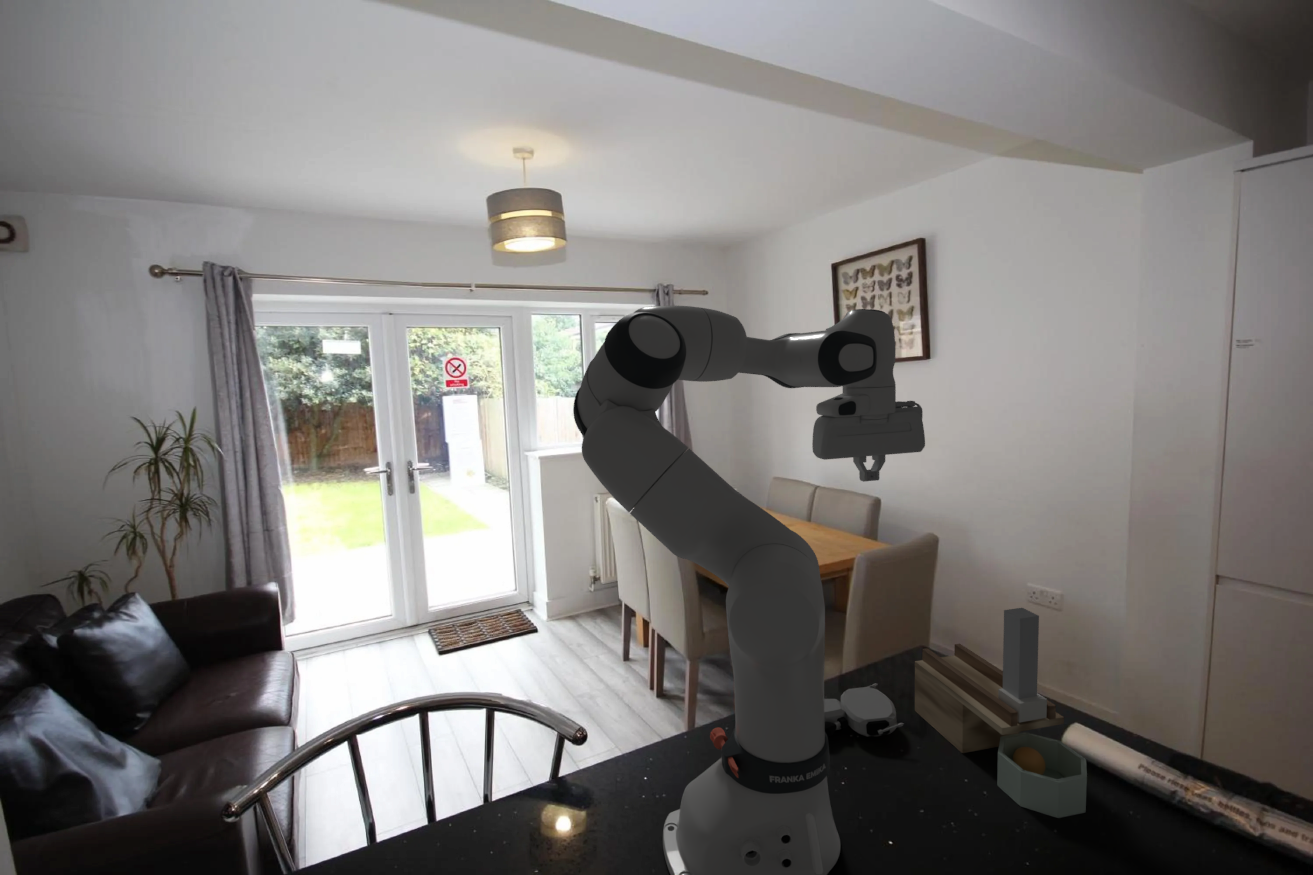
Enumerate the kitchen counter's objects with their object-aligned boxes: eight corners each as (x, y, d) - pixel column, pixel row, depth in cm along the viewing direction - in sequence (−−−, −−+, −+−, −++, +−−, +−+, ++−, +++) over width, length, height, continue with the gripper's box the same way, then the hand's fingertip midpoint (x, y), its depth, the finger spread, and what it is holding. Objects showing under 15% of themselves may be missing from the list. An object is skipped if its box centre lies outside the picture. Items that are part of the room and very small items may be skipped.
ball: (1030, 785, 84) (1024, 754, 84) (1008, 774, 88) (1003, 744, 88) (1055, 780, 84) (1049, 749, 85) (1032, 769, 88) (1027, 740, 89)
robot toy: (813, 755, 96) (909, 746, 95) (810, 729, 95) (906, 719, 94) (797, 711, 108) (881, 703, 107) (794, 687, 107) (879, 679, 107)
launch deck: (1001, 788, 85) (1002, 714, 84) (914, 710, 105) (914, 650, 103) (1062, 775, 87) (1064, 703, 86) (966, 702, 106) (966, 642, 105)
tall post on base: (1019, 722, 85) (1021, 621, 83) (998, 707, 89) (999, 610, 87) (1046, 717, 85) (1049, 617, 84) (1024, 702, 89) (1026, 606, 88)
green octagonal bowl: (1038, 822, 79) (1039, 786, 78) (982, 771, 89) (982, 739, 88) (1104, 808, 80) (1106, 773, 80) (1042, 760, 90) (1043, 728, 90)
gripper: (911, 399, 112) (911, 473, 113) (807, 405, 108) (809, 481, 110) (933, 400, 106) (932, 478, 107) (824, 407, 102) (825, 488, 103)
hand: (869, 480), depth 108 cm, fingers closed
